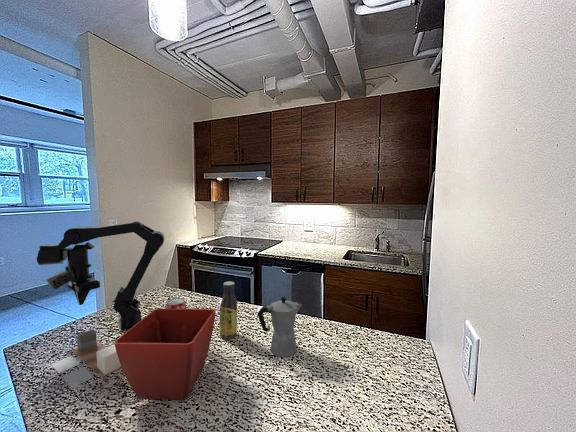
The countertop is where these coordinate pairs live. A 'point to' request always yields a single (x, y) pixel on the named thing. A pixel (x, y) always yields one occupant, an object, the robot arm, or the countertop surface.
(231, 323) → the sauce bottle
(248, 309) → the countertop surface
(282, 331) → the coffeepot
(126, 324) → the robot arm
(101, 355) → the cube
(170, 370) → the plant pot
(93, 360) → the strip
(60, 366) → the broken strip
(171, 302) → the soda can
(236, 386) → the countertop surface
